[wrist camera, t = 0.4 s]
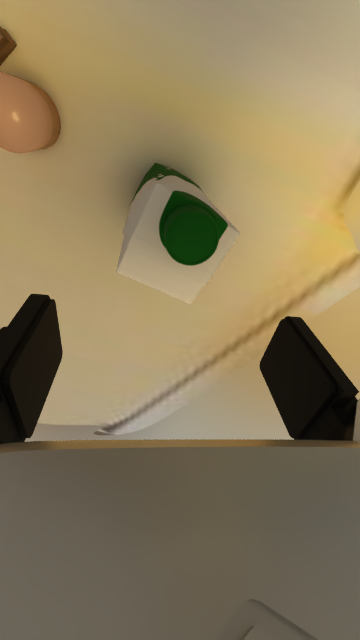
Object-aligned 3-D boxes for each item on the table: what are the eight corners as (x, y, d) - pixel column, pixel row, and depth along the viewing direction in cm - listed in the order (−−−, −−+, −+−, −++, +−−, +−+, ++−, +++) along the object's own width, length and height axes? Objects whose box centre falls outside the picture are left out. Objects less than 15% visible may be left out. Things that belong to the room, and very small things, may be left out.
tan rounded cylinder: (26, 65, 26) (-2, 52, 22) (71, 126, 30) (56, 125, 25) (-10, 107, 28) (-43, 103, 23) (37, 160, 31) (16, 166, 27)
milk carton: (210, 188, 35) (259, 239, 19) (177, 246, 39) (195, 326, 23) (151, 150, 32) (151, 173, 16) (123, 217, 36) (101, 288, 20)
